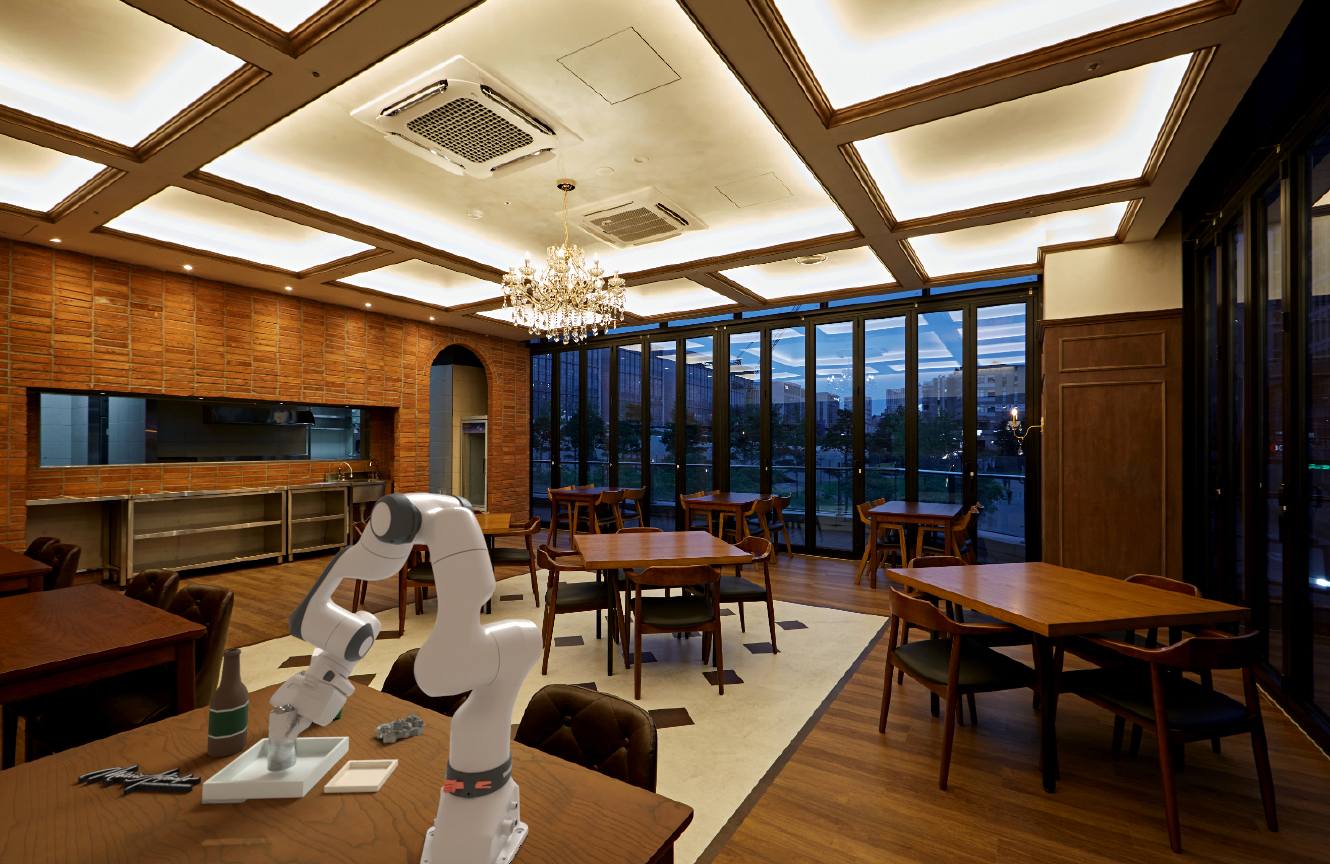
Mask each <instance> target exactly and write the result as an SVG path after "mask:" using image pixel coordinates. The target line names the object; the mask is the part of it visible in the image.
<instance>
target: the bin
mask: <svg viewBox="0 0 1330 864" xmlns="http://www.w3.org/2000/svg"><path fill="white" fill-rule="evenodd" d="M349 741H350V736H323V737H322V736H321V737H320V736H318V737H316V736H315V737H311V736H310V737H297V757H296V764H295V765H294V766H292V767H290V768H288V769H286V770H282V771H275V772H273V771H268V770H267V758H268V737H267V738H266V737H265V738H261V739H260V740H259V741H258V742H256V743H255V744H253V745H252V746H251V747H249V749H247V750H245V752H243V753H241V754H240V755H239V756H237V757H236V758H235V759H234V760H232V761H231V762H229V763H228V764H227V765H225V766H224V767H223V768H222V769H220V770H219V771H217V772H216V773H215V774H214V775H212V776H211V777H210V778H208V779H207V780H205V782H203V783H202V792H201V793H202V797H201V805H202V804H203V805H204V804H208V805H209V804H235V803H236V804H239V803H240V804H243V803H245V802H246V801H247V800H248V799H249V800H251V799H253V800H254V799H285V798H286V799H287V798H288V799H290V798H295V799H296V798H304V797H305V796H306V795H307V794H308V793H309V792H310V791H311V790H312V789H313V788H314V786H315V785H317V783H318V782H319V781H320V780H321V779H322V778H323V777H324V776H325V775H327V773H328V772H330V770H331V769H332V768H333V767H334V766H335V765H336V764H337V763H338V762H339V761H340V760H341V759H342V757H344V756H345V755H346V754H347V753H348V752H349V747H350V746H349V744H350V742H349Z"/></svg>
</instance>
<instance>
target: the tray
mask: <svg viewBox="0 0 1330 864" xmlns="http://www.w3.org/2000/svg"><path fill="white" fill-rule="evenodd" d="M398 766H399V759H363V760H361V759H360V760H358V759H357V760H355V759H353V760H348V761H347V762H346V763H345V764H344V765H343V766H342V767H341V769H339V770H338V772H337V773H336V774H335V775H334V776H333V777H332V778H331V779H330V780H329V781H328V782H327V783H326V784H325V785H324V787H323V793H324V794H333V793H335V794H336V793H370V792H371V793H372V792H373V793H374V792H375V793H376V792H379V791H380V789H381V788H382V787H383V785H384V784H385V783H386V781H387V780H388V779H389V777H390V776H391V775H392V774H393V772H394V771H395V770H396V768H397V767H398Z"/></svg>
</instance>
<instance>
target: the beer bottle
mask: <svg viewBox="0 0 1330 864" xmlns="http://www.w3.org/2000/svg"><path fill="white" fill-rule="evenodd" d="M241 654H242V650H241V649H240V648H236V647H235V648H230V649H226V650H224V651H223V653H222V657H223V662H222V668H221V669H222V671H221V678H220V681H219V682H220V683H219V685H218V687H217V688H216V690H215V691H214V693H213V695H212V697H211V699H210V702H209V711H208V712H209V713H208V716H209V717H208V729H207V756H210V757H213V758H215V759H216V758H223V757H229V756H233V755H235V754H237V753H239V752H241V751H243V750H244V748H245V746H246V744H247V739H248V738H247V737H248V722H249V720H248V719H249V702H250V701H249V699H250V698H249V690H248V688H247V686H246V685H245V684H244V683H243V682H242V676H241V659H240V658H241Z"/></svg>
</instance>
